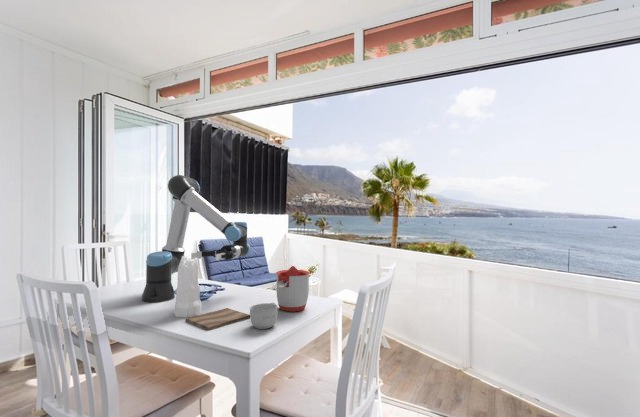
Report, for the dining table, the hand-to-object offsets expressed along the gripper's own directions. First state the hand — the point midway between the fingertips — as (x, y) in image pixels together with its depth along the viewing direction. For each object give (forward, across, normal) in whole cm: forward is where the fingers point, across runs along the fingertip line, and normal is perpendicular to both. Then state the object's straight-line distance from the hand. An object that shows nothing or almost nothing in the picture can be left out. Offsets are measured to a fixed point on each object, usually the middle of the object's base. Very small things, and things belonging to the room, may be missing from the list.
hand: (203, 256), depth 154 cm
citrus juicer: (-13, -39, -25) cm, 48 cm away
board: (+12, -17, -24) cm, 32 cm away
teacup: (+11, -38, -24) cm, 47 cm away
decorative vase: (+10, +1, -24) cm, 26 cm away
